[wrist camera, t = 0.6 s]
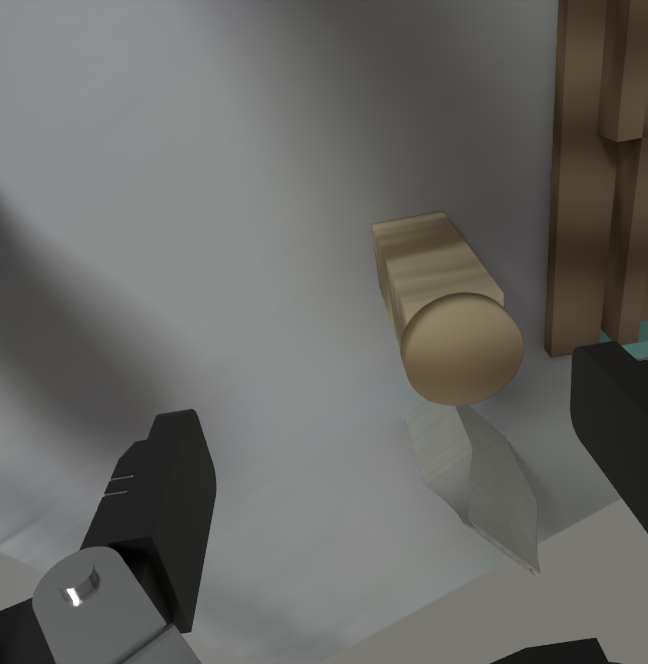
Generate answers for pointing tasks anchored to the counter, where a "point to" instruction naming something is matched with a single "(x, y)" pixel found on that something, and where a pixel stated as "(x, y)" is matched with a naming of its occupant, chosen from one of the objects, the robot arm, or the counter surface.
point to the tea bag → (477, 477)
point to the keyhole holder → (599, 179)
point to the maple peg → (445, 311)
